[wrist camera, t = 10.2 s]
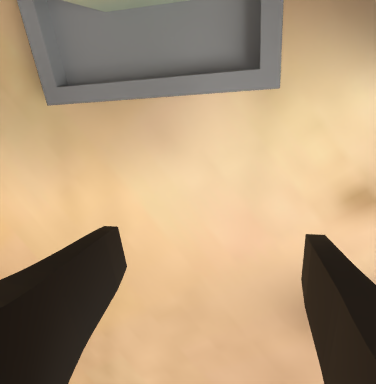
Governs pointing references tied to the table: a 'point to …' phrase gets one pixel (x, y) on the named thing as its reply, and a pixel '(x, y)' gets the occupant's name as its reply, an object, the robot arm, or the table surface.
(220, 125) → the table surface
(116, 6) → the cube
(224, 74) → the tray
